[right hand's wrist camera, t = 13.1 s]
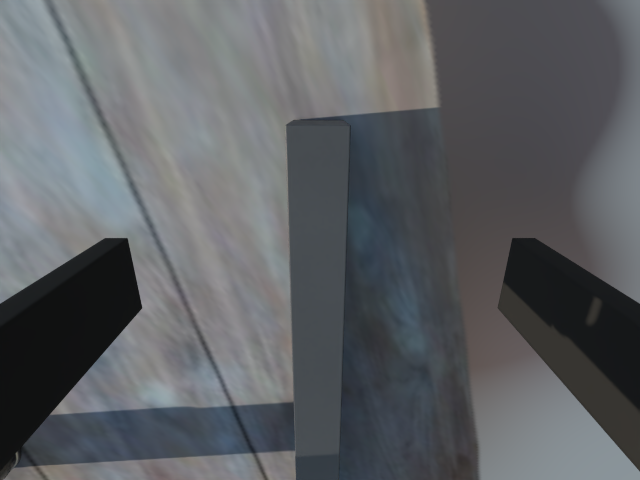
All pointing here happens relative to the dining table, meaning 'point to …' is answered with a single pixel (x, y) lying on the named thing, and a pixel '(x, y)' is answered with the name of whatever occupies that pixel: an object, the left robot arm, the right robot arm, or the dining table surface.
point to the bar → (317, 287)
